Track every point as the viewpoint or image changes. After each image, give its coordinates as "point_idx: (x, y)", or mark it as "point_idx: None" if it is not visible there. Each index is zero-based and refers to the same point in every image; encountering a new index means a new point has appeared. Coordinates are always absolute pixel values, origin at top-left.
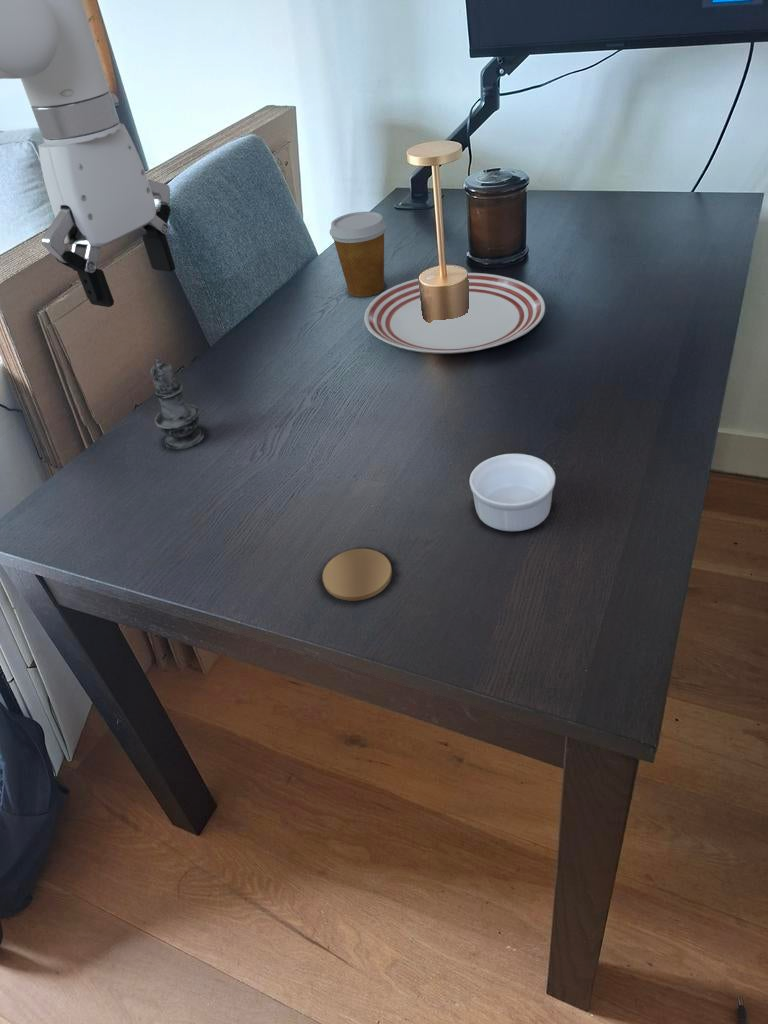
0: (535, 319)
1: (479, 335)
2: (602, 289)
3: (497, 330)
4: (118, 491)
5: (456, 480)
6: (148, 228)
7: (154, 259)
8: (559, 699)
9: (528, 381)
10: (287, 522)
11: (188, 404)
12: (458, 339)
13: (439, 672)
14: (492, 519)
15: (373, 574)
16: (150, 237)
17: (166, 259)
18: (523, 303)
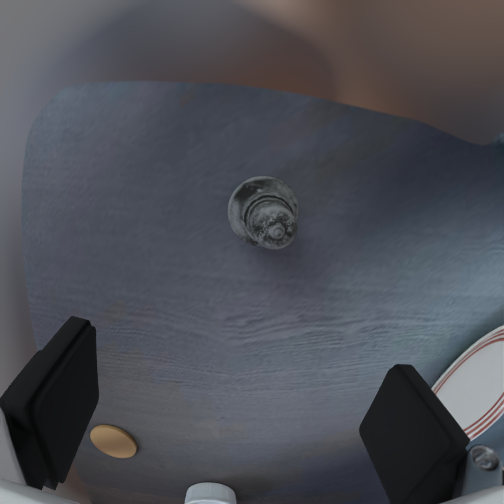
0: None
1: None
2: (482, 443)
3: None
4: (131, 182)
5: (234, 469)
6: (451, 490)
7: (396, 407)
8: (95, 499)
9: (372, 465)
10: (142, 389)
11: (296, 214)
12: None
13: (79, 472)
14: (186, 495)
15: (115, 451)
16: (423, 477)
17: (372, 452)
18: (476, 425)
